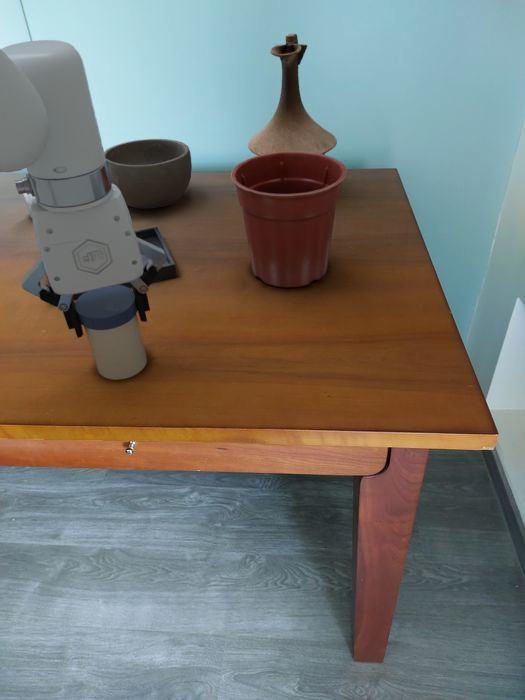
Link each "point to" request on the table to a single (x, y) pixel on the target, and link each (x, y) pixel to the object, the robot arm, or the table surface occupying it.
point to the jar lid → (106, 307)
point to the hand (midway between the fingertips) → (111, 322)
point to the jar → (118, 350)
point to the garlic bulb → (28, 201)
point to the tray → (156, 239)
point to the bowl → (150, 171)
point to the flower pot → (289, 213)
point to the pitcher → (291, 112)
